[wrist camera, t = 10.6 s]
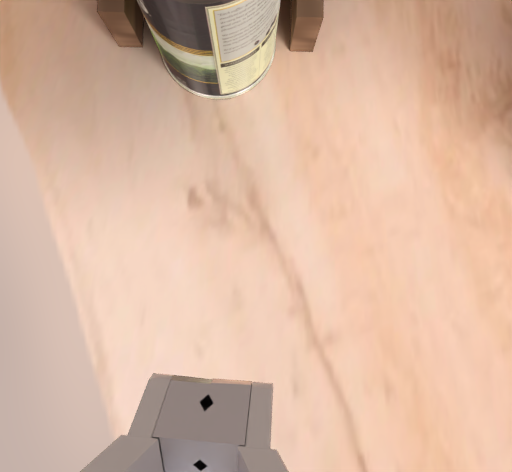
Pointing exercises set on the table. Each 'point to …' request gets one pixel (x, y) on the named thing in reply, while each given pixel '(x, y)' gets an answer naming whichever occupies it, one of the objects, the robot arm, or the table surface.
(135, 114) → the table surface
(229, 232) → the table surface
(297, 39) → the walnut rail
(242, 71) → the coffee can
